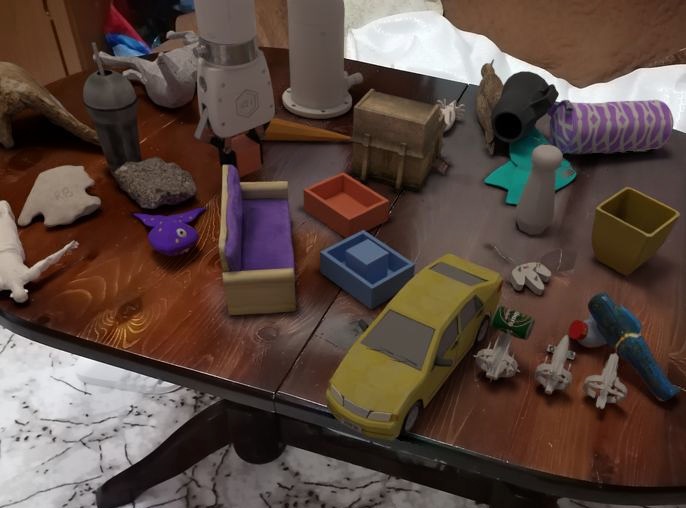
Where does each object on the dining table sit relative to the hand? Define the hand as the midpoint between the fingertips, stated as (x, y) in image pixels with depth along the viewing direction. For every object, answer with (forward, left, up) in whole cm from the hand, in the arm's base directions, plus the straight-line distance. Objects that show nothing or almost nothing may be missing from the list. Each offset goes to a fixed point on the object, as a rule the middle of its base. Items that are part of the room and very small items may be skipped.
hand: (242, 165), depth 110 cm
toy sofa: (+11, +18, -3) cm, 21 cm away
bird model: (-50, +11, -2) cm, 51 cm away
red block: (0, 0, 0) cm, 0 cm away
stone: (+12, -5, -4) cm, 13 cm away
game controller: (-16, +42, -3) cm, 45 cm away
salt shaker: (-26, +36, -3) cm, 45 cm away
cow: (-37, +8, +2) cm, 38 cm away
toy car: (+9, +46, -3) cm, 47 cm away
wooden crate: (-23, +12, -3) cm, 26 cm away
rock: (+13, -30, -6) cm, 33 cm away
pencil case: (-53, +34, +1) cm, 63 cm away
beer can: (+1, +50, +4) cm, 50 cm away
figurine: (+33, -11, 0) cm, 35 cm away
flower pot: (-29, +50, -3) cm, 58 cm away
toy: (+17, +5, -3) cm, 18 cm away
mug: (-49, +17, +5) cm, 53 cm away
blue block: (+2, +29, -2) cm, 29 cm away
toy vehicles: (-3, +57, -3) cm, 57 cm away
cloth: (-40, +26, -3) cm, 48 cm away
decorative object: (+25, -5, -2) cm, 26 cm away
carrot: (-14, -5, -4) cm, 16 cm away
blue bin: (+2, +29, -3) cm, 30 cm away
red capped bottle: (-16, +59, -1) cm, 61 cm away
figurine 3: (-9, +70, -2) cm, 70 cm away
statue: (-10, -40, +4) cm, 42 cm away
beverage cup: (+12, -14, -3) cm, 18 cm away
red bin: (-6, +16, -3) cm, 18 cm away
